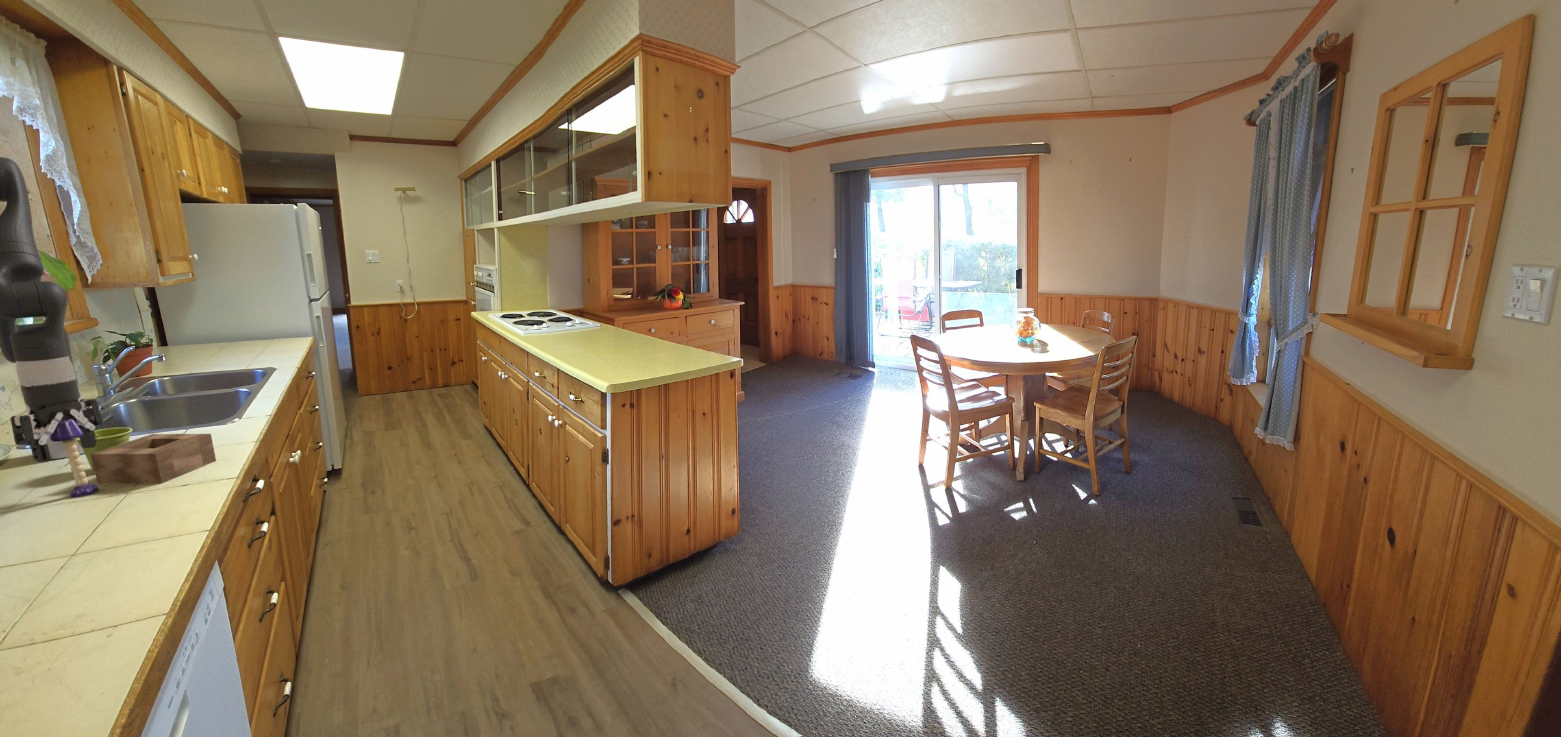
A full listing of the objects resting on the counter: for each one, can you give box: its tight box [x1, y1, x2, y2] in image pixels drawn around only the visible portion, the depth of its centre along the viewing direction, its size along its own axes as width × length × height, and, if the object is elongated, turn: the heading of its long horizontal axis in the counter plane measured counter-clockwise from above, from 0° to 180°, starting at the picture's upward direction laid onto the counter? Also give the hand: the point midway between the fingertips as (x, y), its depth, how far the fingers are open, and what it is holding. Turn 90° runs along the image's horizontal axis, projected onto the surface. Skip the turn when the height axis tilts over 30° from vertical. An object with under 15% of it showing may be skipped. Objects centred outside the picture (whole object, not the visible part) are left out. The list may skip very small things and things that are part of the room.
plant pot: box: [75, 427, 133, 472], centre depth 146 cm, size 9×9×9 cm
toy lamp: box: [50, 418, 100, 498], centre depth 130 cm, size 5×5×17 cm
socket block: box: [91, 433, 217, 484], centre depth 144 cm, size 14×14×7 cm
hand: (67, 454), depth 130 cm, fingers open, 8 cm apart
